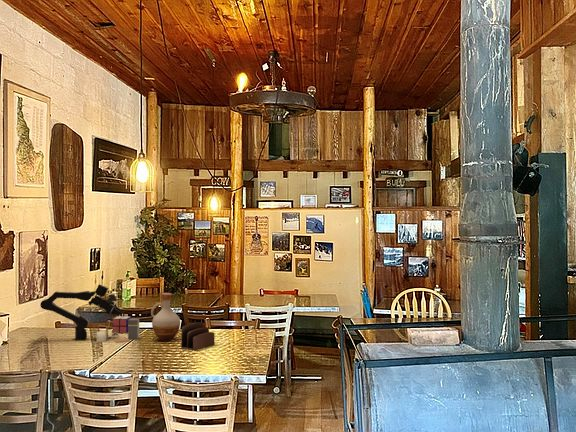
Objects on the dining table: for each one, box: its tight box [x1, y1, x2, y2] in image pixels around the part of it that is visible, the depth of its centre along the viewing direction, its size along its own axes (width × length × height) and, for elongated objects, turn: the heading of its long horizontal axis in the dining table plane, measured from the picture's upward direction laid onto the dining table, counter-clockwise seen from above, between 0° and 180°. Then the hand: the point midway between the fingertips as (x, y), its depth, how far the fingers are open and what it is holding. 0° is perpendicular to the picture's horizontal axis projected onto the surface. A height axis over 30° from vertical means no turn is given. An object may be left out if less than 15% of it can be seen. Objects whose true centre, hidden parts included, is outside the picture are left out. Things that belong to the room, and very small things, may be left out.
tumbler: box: [127, 318, 140, 341], centre depth 367 cm, size 6×6×12 cm
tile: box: [113, 337, 131, 344], centre depth 359 cm, size 8×8×1 cm
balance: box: [95, 324, 119, 340], centre depth 367 cm, size 15×5×10 cm, turn 122°
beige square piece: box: [96, 330, 107, 343], centre depth 358 cm, size 6×6×6 cm
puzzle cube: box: [111, 316, 132, 334], centre depth 391 cm, size 10×10×10 cm
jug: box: [150, 292, 181, 342], centre depth 364 cm, size 20×18×30 cm
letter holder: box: [180, 321, 216, 351], centre depth 343 cm, size 10×20×14 cm, turn 148°
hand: (122, 313), depth 371 cm, fingers open, 9 cm apart
